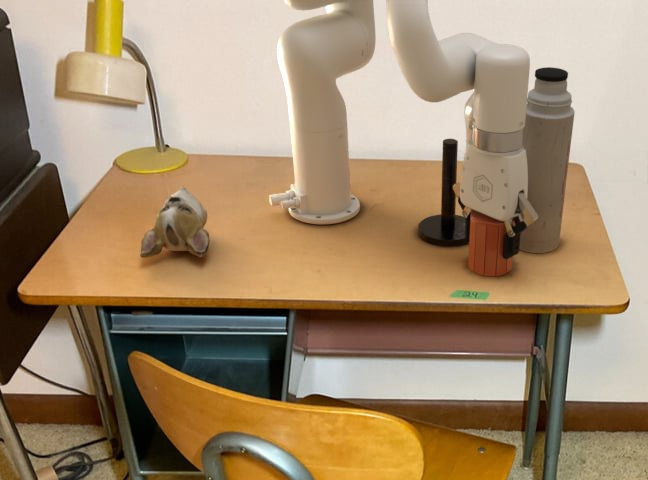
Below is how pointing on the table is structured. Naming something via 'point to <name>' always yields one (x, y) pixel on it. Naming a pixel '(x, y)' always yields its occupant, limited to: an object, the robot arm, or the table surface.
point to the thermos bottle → (547, 157)
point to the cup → (487, 245)
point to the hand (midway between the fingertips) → (491, 246)
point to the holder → (446, 206)
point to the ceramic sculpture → (178, 227)
